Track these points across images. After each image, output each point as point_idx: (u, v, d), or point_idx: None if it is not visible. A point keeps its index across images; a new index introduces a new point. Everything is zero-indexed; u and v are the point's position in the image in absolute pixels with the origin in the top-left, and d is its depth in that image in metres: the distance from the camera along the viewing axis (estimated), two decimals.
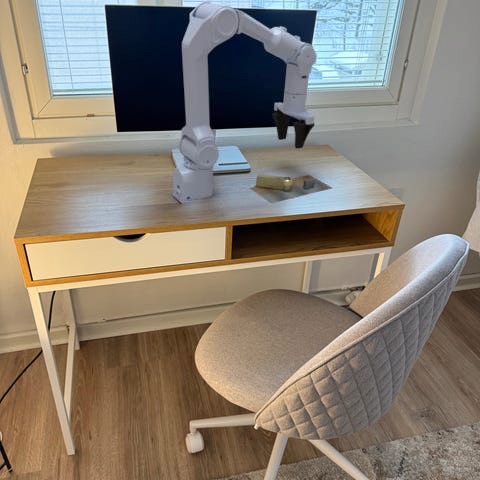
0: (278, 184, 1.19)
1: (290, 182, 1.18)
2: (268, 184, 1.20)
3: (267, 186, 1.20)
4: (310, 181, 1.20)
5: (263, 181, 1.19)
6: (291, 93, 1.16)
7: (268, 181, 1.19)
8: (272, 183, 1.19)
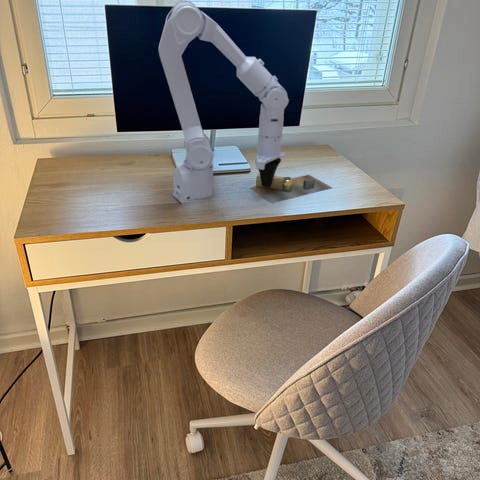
0: (278, 184, 1.19)
1: (290, 182, 1.18)
2: None
3: None
4: (310, 181, 1.20)
5: None
6: None
7: None
8: (272, 183, 1.19)
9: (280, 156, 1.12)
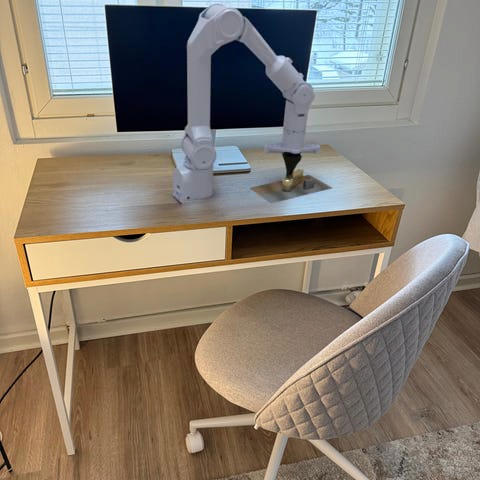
0: None
1: None
2: None
3: None
4: (310, 181, 1.20)
5: None
6: None
7: None
8: None
9: (291, 151, 1.17)
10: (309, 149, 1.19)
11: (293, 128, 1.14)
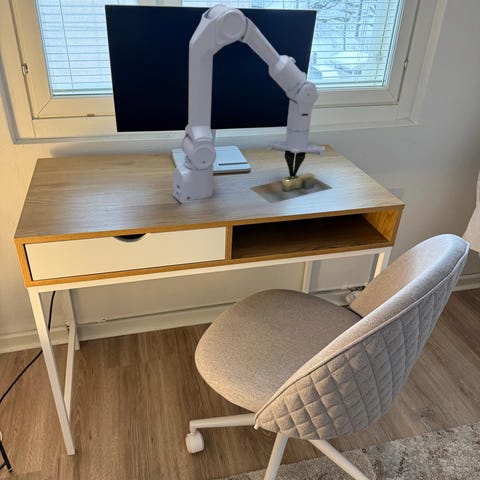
0: None
1: None
2: None
3: None
4: (310, 181, 1.20)
5: None
6: None
7: None
8: None
9: (290, 150, 1.17)
10: (311, 150, 1.18)
11: (297, 128, 1.14)
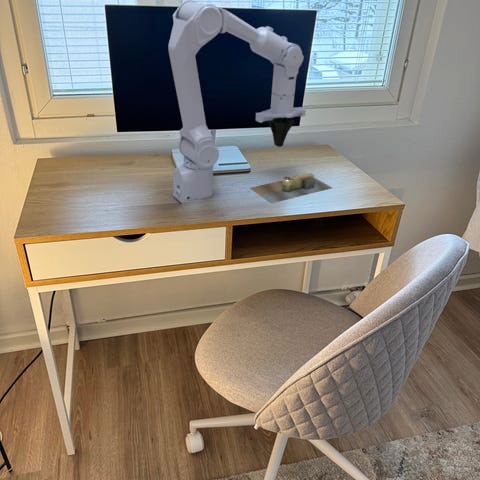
0: None
1: None
2: None
3: None
4: (310, 181, 1.20)
5: None
6: None
7: None
8: None
9: (285, 115, 1.16)
10: (298, 112, 1.20)
11: (284, 92, 1.14)
